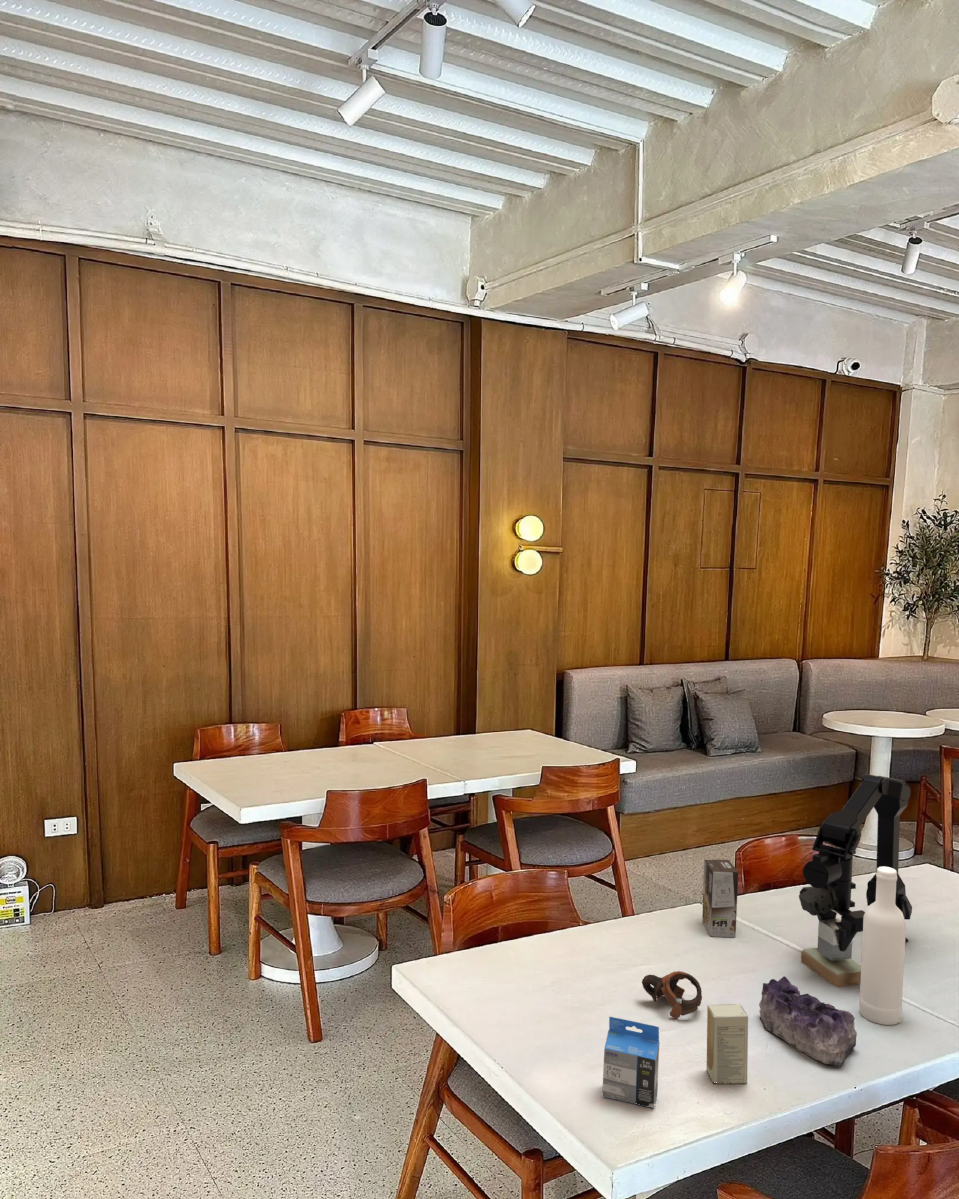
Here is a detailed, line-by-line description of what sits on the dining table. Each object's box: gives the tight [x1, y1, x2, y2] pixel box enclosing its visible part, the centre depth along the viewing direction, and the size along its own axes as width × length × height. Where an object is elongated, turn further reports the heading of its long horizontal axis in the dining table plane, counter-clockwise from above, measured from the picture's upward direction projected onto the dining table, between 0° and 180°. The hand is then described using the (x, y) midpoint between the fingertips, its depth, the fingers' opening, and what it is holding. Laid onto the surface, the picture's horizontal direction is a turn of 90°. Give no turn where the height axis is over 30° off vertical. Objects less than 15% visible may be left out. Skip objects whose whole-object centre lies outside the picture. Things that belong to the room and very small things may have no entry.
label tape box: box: [602, 1016, 660, 1109], centre depth 149 cm, size 9×4×12 cm, turn 69°
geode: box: [758, 975, 858, 1068], centre depth 169 cm, size 20×12×10 cm, turn 34°
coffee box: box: [702, 859, 739, 938], centre depth 217 cm, size 9×6×16 cm
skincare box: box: [706, 1003, 749, 1085], centre depth 155 cm, size 6×4×12 cm
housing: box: [817, 917, 853, 961], centre depth 196 cm, size 5×5×7 cm
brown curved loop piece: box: [641, 970, 703, 1020], centre depth 179 cm, size 12×10×8 cm
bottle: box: [858, 866, 907, 1026], centre depth 177 cm, size 8×8×30 cm
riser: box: [800, 947, 861, 988], centre depth 196 cm, size 8×12×3 cm, turn 16°
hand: (834, 945), depth 196 cm, fingers closed on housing, 5 cm apart
